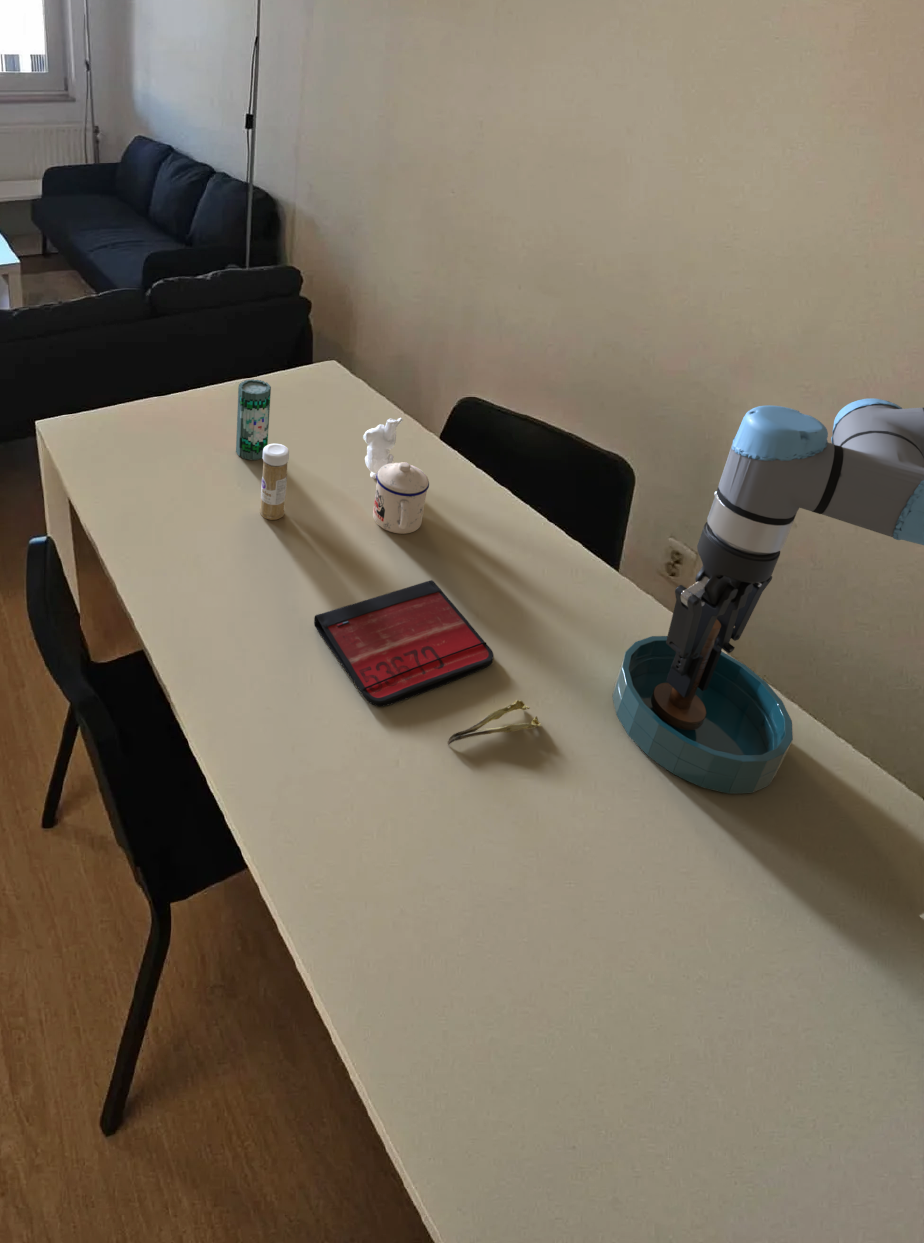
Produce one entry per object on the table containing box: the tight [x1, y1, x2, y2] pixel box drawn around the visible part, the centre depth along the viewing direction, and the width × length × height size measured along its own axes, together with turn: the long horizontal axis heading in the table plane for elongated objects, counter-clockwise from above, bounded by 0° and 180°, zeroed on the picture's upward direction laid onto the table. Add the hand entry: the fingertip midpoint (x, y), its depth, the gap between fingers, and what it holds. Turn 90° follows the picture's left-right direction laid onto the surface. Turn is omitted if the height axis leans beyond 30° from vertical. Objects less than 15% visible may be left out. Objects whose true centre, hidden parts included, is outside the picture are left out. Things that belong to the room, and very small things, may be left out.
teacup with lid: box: [372, 461, 430, 535], centre depth 129 cm, size 12×9×12 cm
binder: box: [313, 579, 494, 707], centre depth 106 cm, size 16×2×21 cm
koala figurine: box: [362, 417, 404, 480], centre depth 144 cm, size 8×7×12 cm
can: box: [235, 378, 272, 461], centre depth 149 cm, size 6×6×15 cm
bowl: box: [612, 635, 794, 794], centre depth 95 cm, size 19×19×6 cm
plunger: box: [651, 619, 721, 730], centre depth 93 cm, size 6×6×15 cm
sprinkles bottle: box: [259, 443, 290, 521], centre depth 131 cm, size 5×5×13 cm
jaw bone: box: [447, 699, 542, 746], centre depth 94 cm, size 4×13×2 cm, turn 114°
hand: (686, 684), depth 94 cm, fingers closed on plunger, 2 cm apart
